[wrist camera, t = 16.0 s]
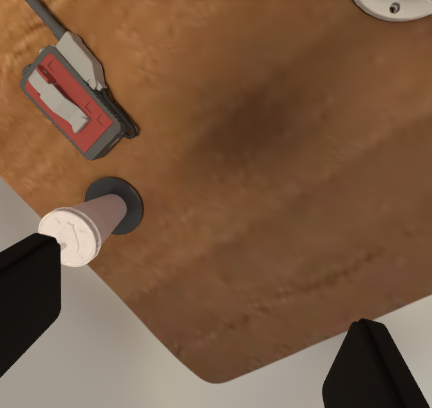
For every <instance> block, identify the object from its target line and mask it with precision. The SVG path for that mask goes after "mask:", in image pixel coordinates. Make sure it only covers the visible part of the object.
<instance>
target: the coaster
mask: <svg viewBox="0 0 432 408" xmlns="http://www.w3.org/2000/svg"><path fill="white" fill-rule="evenodd" d="M108 194H115V195H118V196H119V197H121V198H122V199H123V200H124V202H125V204H126V207H127V212H126V215H125V216H124V218H123V219H122V220H121V221H120V223H119V224H118V225H117V226H116V227H115V229H114V230H113V231H112V232H111V234H116V235H121V234H126V233H129V232H131V231H133V230H134V229H135V228H136V227H137V226H138V225H139V224H140V222H141V220H142V217H143V210H144V209H143V202H142V199H141V197H140V195H139V193H138V192H137V190H136V189H135V188H134V187H133V186H132V185H131V184H129V183H128V182H126V181H125V180H122V179H120V178H116V177H105V178H101V179H99V180H97V181H95V182H94V183H93V184H91V186H90V187H89V188H88V190H87V193H86V196H85V202H87V201H90V200H93V199H96V198H99V197H102V196H105V195H108Z"/></svg>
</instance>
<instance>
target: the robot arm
mask: <svg viewBox="0 0 432 408" xmlns="http://www.w3.org/2000/svg"><path fill="white" fill-rule="evenodd" d="M354 2H355V3H356V4H357V5H358V6H359V7H360V8H361V9H362V10H364V11H365V12H366V13H368V14H370V15H372V16H374V17H376V18H378V19H382V20H386V21H393V22H405V21H411V20H416V19H420V18H423V17H425V16H428V15H431V14H432V0H354ZM390 8H392V9H393V13H390V11H389V9H390ZM60 311H61V246H60V244H59V243H57V240H56V238H55V237H52V236H48V235H45V234H41V233H34V234H32V235H30V236H28V237H26V238H25V239H23V240H21V241H20V242H18V243H16V244H14V245H12V246H11V247H9V248H7V249H5V250H4V251H2V252H0V378H1V377H2V376H3V374H4V373H5V372H6V371H7V370H8V369H9V368H10V367H11V366H12V365H13V364H14V363H15V362H16V361H17V360H18V359H19V358H20V357H21V356H22V355H23V354H24V353H25V352H26V350H27V349H28V348H29V347H30V346H31V345H32V344H33V343H34V342H35V341H36V340H37V339H38V338H39V337H40V336H41V335H42V334H43V333H44V331H46V330H47V328H49V326H50V325H51V324H52V323H53V322H54V321H55V320H56V319H57V317H58V316H59V313H60ZM322 395H323V401H324V407H325V408H430V407H429V405H428V403H427V401H426V399H425V398H424V396H423V394H422V392H421V390H420V388H419V387H418V385H417V383H416V381H415V380H414V377H413V376H412V374H411V372H410V370H409V369H408V366H407V365H406V363H405V361H404V359H403V357H402V355H401V354H400V352H399V350H398V348H397V346H396V344H395V343H394V341H393V339H392V337H391V335H390V333H389V332H388V330H387V328H386V326H385V325H384V324H382V323H379V322H375V321H372V320H368V319H364V318H361V319H360V320H359V321H358V322H356V321H355V322H353V323H352V324H351V326H350V328H349V330H348V333H347V335H346V337H345V339H344V341H343V343H342V345H341V347H340V350H339V352H338V354H337V356H336V358H335V360H334V362H333V364H332V366H331V369H330V371H329V373H328V375H327V377H326V379H325V381H324V384H323V388H322Z"/></svg>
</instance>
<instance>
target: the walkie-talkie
mask: <svg viewBox="0 0 432 408" xmlns="http://www.w3.org/2000/svg"><path fill="white" fill-rule="evenodd" d="M25 1H26V2H27V3H28V4H29V5H30V7H31V8H32V9H33V10H34V11H35V12H36V13H37V15H38V16H39V17H40V18H41V19H42V20H43V21H44V23H45V24H46V25H47V26H48V27H49V28H50V29H51V31H52V32H53V34H54V36H55V37H56V38H57V39H58V40H59V42H58V43H57V45H52V46H49V45H48V46H47V47H45V48H42V49H40V50H39V53H40V54H39V56H38V57H37V58H36V60H35V61H34V63H32V64H29V65H27V66H26V67H24V69H23V71H22V75H23V78H22V79H21V82H20V87H21V90H22V91H23V92H24V93H25V94H26V95H27V96H28V97H29V99H30V100H31V101H32V102H33V103H34V104H35V105H36V106H37V107H38V108H39V109H40V110H41V111H42V112H43V114H44V115H45V116H46V117H47V118H48V119H49V120H51V121H52V123H53V124H54V125H55V126H56V127H57V128H58V129H59V131H61V132H62V134H63V135H65V136H66V138H67V139H68V140H69V141H70V142H71V143H72V145H73V146H75V147H76V149H78V150H79V152H80V153H81V154H82V155H83V156H84V157H85V158H86V159H88V160H95V159H98V158H101V157H104V156H105V155H106V154H107V153H108V152H109V151H110V150H111V149H112V148H113V147H114V146H115V145H116V144H117V143H118V142H119V141H120V140H121V139H122V137H123V136H124V137H126V138H128V139H131V138H134V137H135V136H136V134H137V131H136V129H135V126H134V125H133V124H132V123H131V122H130V121H129V119H128V118H127V117H126V116H125V115H124V114H123V113H122V111H121V110H120V109H119V108H118V107H117V106H116V105H115V103H114V102H113V101H112V100H111V98H110V97H109V94H108V92H107V90H106V89H107V88H108V87H107V86H106V85H105V81H104V76H103V70H102V66H101V64H100V63H99V62H98V60H97V59H96V58H95V57H94V56H93V55H92V53H91V52H90V51H89V50H88V49H87V48H86V46H85V45H84V44H83V43H82V40H81V39H80V38H79V36H78V35H77V34H74V33H71V32H69V31H66V30H65V29H64V28H63V27H62V26H60V25H59V24H58V23H57V22H56V21H55V19H54V18H53V17H52V16H51V15H50V14H49V13H48V11H47V10H46V9H45V8H44V7H43V6H42V5H41V3H40V2H39V1H38V0H25ZM130 129H131V131H132V134H131V135H129V134H127V132H128V131H129V130H130Z"/></svg>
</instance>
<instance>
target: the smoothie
mask: <svg viewBox="0 0 432 408" xmlns="http://www.w3.org/2000/svg"><path fill="white" fill-rule="evenodd" d="M126 212H127V207H126V204H125V202H124V200H123V199H122V198H121V197H119V196H118V195H115V194H108V195H105V196H102V197H99V198H96V199H93V200H90V201H87V202H84V203H81V204H78V205H75V206H72V207H61V208H57V209H55V210H53V211H51V212H50V213H48V214H47V215H45V216H44V217H43V218H42V220H41V222H40V224H39V230H38V233H41V234H45V235H48V236H52V237H55V238H56V240H57V243H59V244H60V246H61V264H63V265H66V266H71V267H78V266H82V265H85V264H87V263H88V262H90V261H91V260H92V259H94V258H95V257H96V256H97V255H98V252H99V250H100V247H101V245H102V244H103V242H104V241H105V240H106V239H107V237H108V236H109V235H110V234H111V232H112V231H113V230H114V229H115V227H116V226H117V225H118V224H119V223H120V221H121V220H122V219H123V218H124V216H125V215H126Z"/></svg>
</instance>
